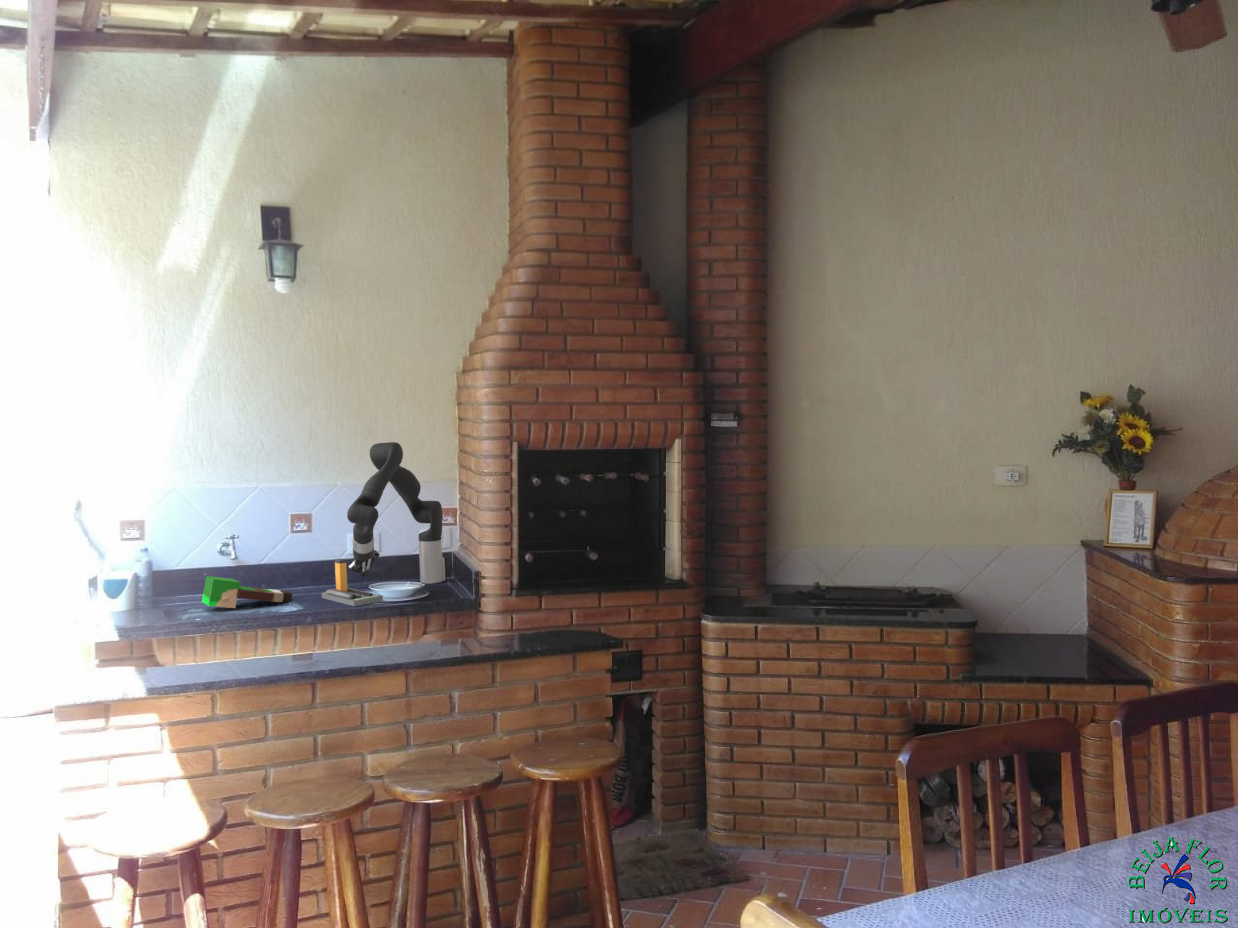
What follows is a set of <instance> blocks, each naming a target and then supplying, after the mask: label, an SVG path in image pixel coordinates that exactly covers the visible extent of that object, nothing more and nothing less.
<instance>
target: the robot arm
mask: <svg viewBox="0 0 1238 928" xmlns="http://www.w3.org/2000/svg"><path fill="white" fill-rule="evenodd" d="M403 457H404V451H403V448H402V445H401V444H400V443H399V442H397V441H396V442H395V441H394V442H393V441H392V442H391V441H390V442H389V441H388V442H380V443H379V442H378V443H374V444H372V446H371V447H370V449H369V458H370V460H371V462H372V465H373V466H374V467H375V468H376V469H377V470H378V471H377V472H375V473H374V474H373V475H372V476H371V477H369V479H367V481H366V482H365V484H364V486H363V487H362V491H361V493H360V495H359V496H358V497H357V499H355V500H354V501H353V502H352V504H351V505H349V508H348V510H347V512H346V513H347V514H346V515H347V516H346V517H347V521H349V522H350V523H351V524H354V525H353V528H352V531H353V532H352V535H353V536H352V555H353V556H352V557H353V559H352V563H349V564H348V565H347V567H348V568H349V570H350V571H352V572H354V573H357V574H359V575H360V576H361V577H362V578H365V577H367V576H368V574H369V569H370V567H373V565H375V563H376V561H377V559H378V558H379V557H380V556H381V554H380V553H379V552H378V551H377V550H375V540H374V528H375V526H376V523H377V521H378V518H379V511H378V509H377V508H376V507H377V506H378V505H379V503H380V501H381V499H382V496H383V494H384V491H385V489H386V487H387V486H388V483H389V484H391V486H392V487H393V489H394V490H395V492H396V493H397V494H398V495H399V496H400V498H401V499H402V500H403V502H404V503H405V505H406V507H407V508H408V510H409V512H410V513H411V515H412V517H413V519H414V520H415V522H416V523H419V524H429V528H428V529H427V530H425V531H422V532H420V533H419V534H418V556H419V560H418V561H419V580H420V581H419V582H420V583H421V584H429V585H430V584H431V585H432V584H438V583H442V582H444V581H446V566H445V563H446V562H445V557H443V545H442V544H443V543H442V542H443V541H442V540H443V539H442V536H443V507H442V504H441V502H440V501H438V500H422V499H420V498H419V495H420V493H421V483H420V481H419V480H418V479H417V477H416V476H415V474H414V473H413V472H412V471H411V470H409V469H407V468H405V467H404V466H401V464H402V463H403Z"/></svg>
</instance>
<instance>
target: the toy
mask: <svg viewBox="0 0 1238 928" xmlns="http://www.w3.org/2000/svg"><path fill="white" fill-rule="evenodd" d="M292 598H293V593H292V592H289V591H286V590H280V589H269V588H261V587H251V586H242V585H241V582H240V581H239V580H236V579H234V578H228V577H220V576H211V575H210V576H209V575H206V577H205V582H204V586H203V592H202V598H201V603H203V604H205V605H206V606H208V607H214V608H215V607H216V608H217V607H218V608H226V609H227V610H228V609H236V608H237V607H236V606H237V601H238V599H241V600H254V601H264V602H274V603H275V602H276V603H282V602H286V603H287V602H288V603H291V602H292Z"/></svg>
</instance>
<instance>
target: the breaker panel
mask: <svg viewBox="0 0 1238 928" xmlns="http://www.w3.org/2000/svg"><path fill="white" fill-rule="evenodd" d="M347 589H348V591H342V590H337V589H336V588H331V589H327V590H326V591H324V592H321V598H322V599H324V600H328V601H332V602H334V603H335V602H336V603H339V604H344V605H348V606H352V607H358V606H363V605H369V604H373V603H379V602H383V601H384V599H383V595H380V594H377V593H373V592H369V591H366V590H365V591H364V590H361V589H357V588H351V587H348V586H347Z"/></svg>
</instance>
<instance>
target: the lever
mask: <svg viewBox="0 0 1238 928" xmlns="http://www.w3.org/2000/svg"><path fill="white" fill-rule="evenodd" d="M347 571H348V570H347V559H344V558H335V559H334V574H335V575H334V576H335V589H337V590H342V591H348V589H347V587H348V573H347Z"/></svg>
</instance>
